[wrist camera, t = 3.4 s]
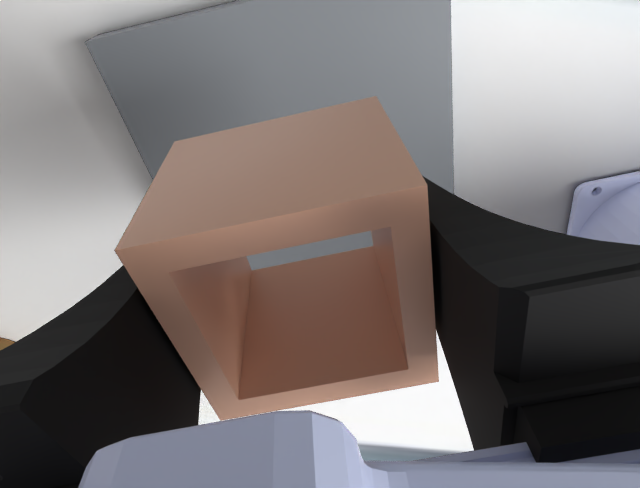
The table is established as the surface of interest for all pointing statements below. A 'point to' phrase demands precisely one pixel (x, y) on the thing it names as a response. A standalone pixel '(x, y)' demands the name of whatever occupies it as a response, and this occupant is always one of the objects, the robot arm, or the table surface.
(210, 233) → the sleeve
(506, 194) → the table surface
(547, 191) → the table surface
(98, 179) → the table surface
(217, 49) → the pin plate
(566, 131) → the table surface
